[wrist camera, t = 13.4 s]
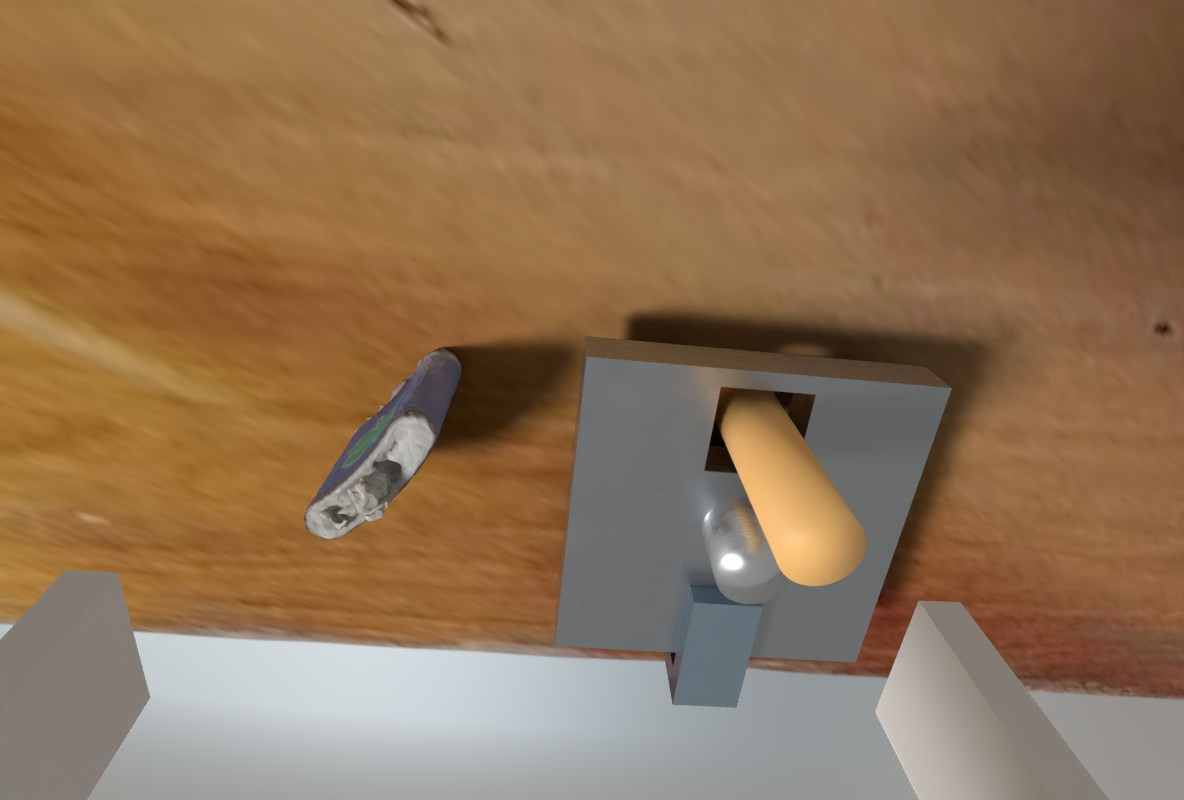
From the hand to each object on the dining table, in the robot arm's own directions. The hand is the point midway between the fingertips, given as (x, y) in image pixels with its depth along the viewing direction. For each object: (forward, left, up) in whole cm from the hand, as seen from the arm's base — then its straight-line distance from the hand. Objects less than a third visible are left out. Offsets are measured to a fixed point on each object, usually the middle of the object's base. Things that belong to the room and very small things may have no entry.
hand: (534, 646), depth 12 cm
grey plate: (+14, +11, -29) cm, 35 cm away
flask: (+10, -8, -29) cm, 32 cm away
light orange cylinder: (+7, +11, -29) cm, 32 cm away
